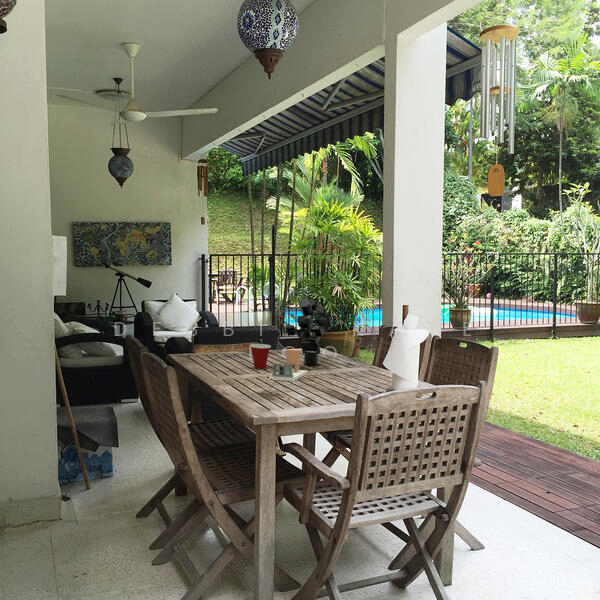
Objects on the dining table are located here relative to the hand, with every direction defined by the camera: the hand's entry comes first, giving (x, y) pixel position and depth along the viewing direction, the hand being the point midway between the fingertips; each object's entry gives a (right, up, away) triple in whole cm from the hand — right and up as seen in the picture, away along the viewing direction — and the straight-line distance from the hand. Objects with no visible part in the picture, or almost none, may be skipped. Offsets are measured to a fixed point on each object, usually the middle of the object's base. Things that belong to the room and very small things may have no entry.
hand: (300, 343), depth 323 cm
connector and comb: (-8, -14, -21) cm, 26 cm away
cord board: (-5, -15, -15) cm, 21 cm away
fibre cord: (-6, -12, -16) cm, 21 cm away
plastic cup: (-20, -13, +9) cm, 26 cm away
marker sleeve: (-3, -12, -9) cm, 16 cm away
